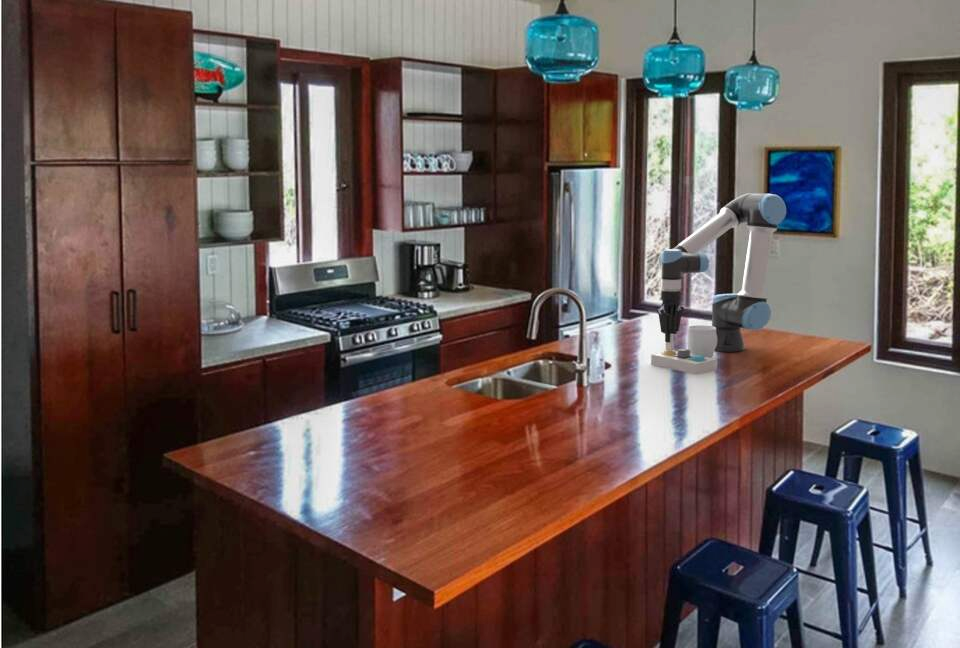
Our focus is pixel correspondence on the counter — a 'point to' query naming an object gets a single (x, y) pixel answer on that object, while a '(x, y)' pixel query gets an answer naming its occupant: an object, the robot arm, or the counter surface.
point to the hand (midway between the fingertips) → (669, 350)
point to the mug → (702, 340)
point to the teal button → (698, 358)
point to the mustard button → (669, 352)
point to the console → (683, 363)
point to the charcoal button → (683, 353)
